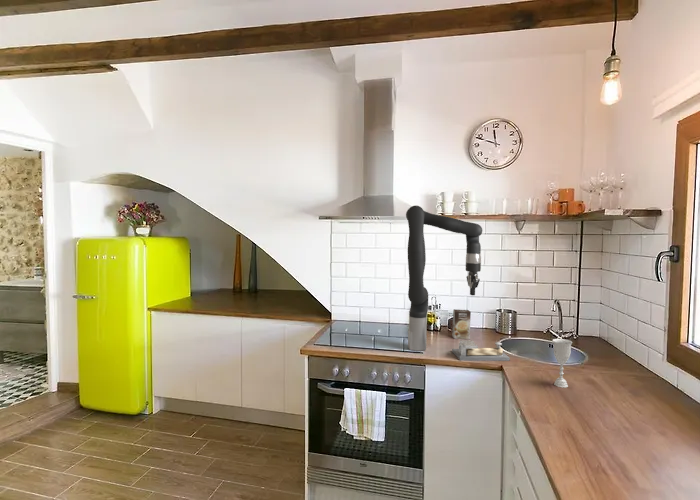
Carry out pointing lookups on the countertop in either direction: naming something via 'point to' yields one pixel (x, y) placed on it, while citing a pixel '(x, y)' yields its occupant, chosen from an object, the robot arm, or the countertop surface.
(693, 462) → the countertop surface
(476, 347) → the keeper
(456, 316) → the coffee box
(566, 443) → the countertop surface
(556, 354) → the chalice
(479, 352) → the link
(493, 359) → the hinge plate
